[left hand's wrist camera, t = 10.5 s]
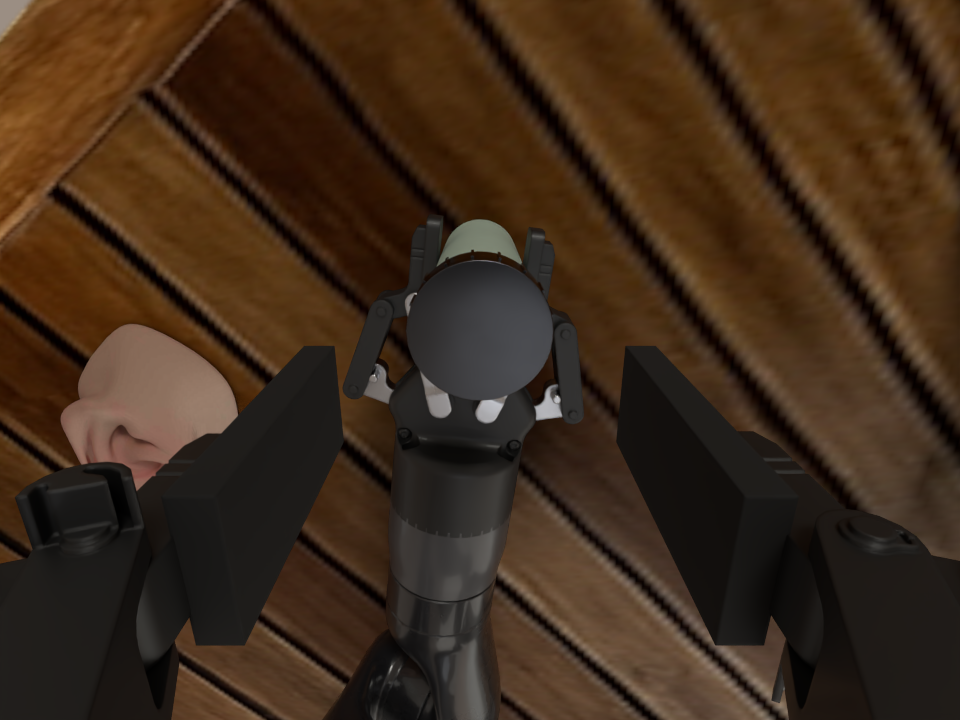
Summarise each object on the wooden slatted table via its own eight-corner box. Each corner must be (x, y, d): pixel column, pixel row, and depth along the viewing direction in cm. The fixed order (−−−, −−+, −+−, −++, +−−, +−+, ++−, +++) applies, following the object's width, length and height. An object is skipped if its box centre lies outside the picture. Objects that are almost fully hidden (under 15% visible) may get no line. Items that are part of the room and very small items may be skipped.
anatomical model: (42, 324, 32) (237, 384, 33) (88, 307, 36) (262, 361, 37) (28, 505, 36) (201, 552, 37) (71, 473, 40) (226, 516, 41)
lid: (393, 356, 21) (384, 374, 20) (437, 227, 20) (432, 234, 18) (517, 399, 22) (520, 421, 20) (570, 278, 20) (579, 289, 19)
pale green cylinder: (434, 277, 35) (399, 365, 20) (458, 208, 34) (440, 246, 18) (500, 301, 36) (515, 405, 20) (527, 235, 34) (564, 293, 19)
